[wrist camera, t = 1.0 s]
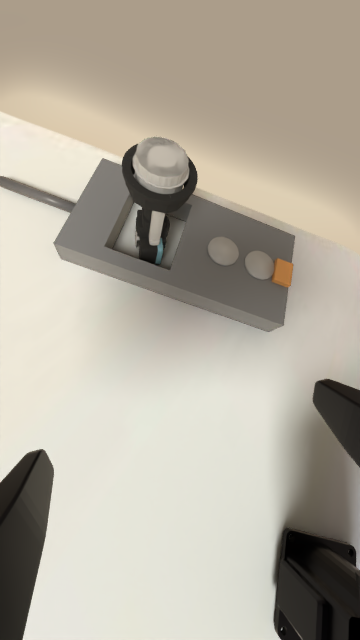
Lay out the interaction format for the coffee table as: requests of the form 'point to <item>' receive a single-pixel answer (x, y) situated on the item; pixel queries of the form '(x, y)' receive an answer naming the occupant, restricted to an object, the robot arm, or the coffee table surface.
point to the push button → (157, 190)
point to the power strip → (180, 250)
